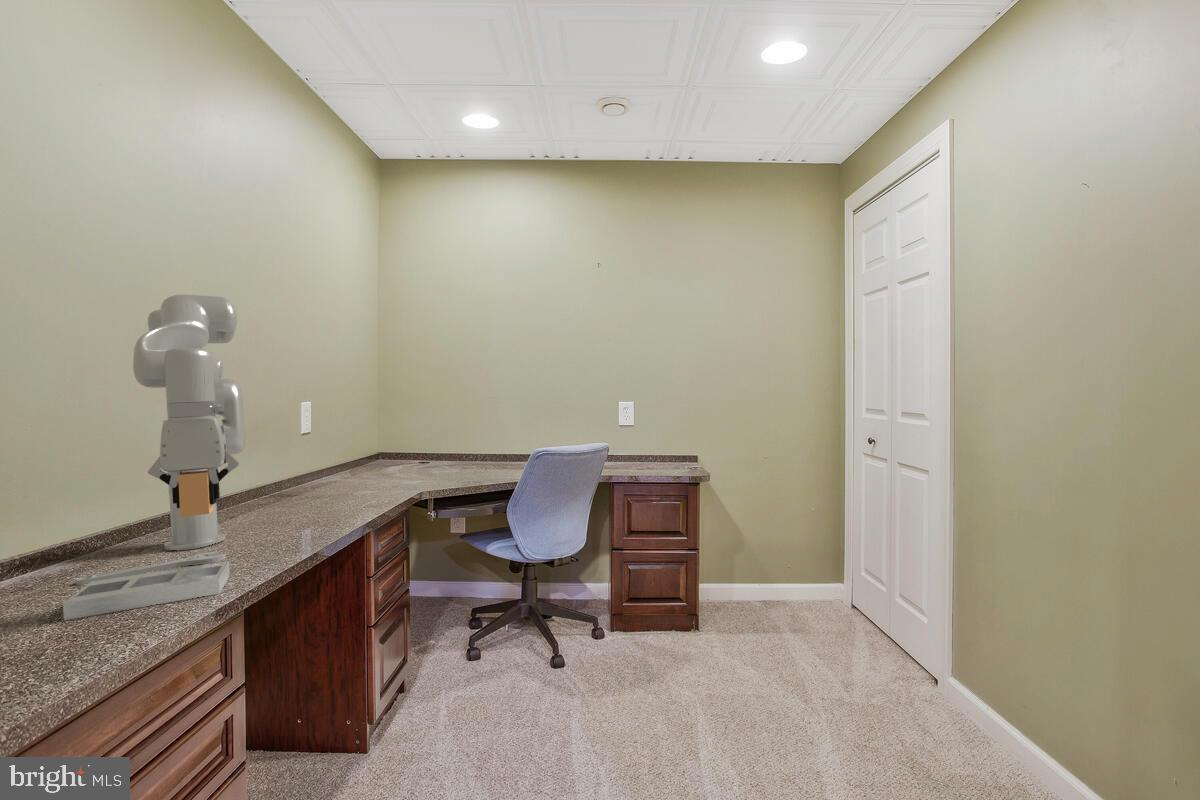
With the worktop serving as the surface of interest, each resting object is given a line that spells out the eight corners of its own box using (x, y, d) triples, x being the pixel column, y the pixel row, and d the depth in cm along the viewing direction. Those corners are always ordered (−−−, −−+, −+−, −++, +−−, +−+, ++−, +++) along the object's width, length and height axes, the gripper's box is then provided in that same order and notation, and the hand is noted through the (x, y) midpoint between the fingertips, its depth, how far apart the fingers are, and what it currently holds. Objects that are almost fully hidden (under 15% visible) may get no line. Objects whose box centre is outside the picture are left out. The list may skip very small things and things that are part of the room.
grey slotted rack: (74, 589, 109) (73, 580, 109) (83, 580, 115) (82, 571, 115) (224, 563, 123) (223, 555, 122) (225, 556, 128) (225, 548, 128)
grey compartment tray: (91, 597, 103) (90, 581, 103) (229, 575, 113) (229, 560, 113) (63, 620, 92) (62, 603, 92) (219, 593, 102) (218, 578, 102)
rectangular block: (186, 512, 106) (183, 472, 106) (213, 509, 108) (211, 469, 108) (180, 517, 102) (178, 475, 102) (209, 513, 104) (207, 472, 104)
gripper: (246, 409, 112) (250, 496, 112) (142, 413, 104) (148, 507, 105) (240, 409, 105) (245, 502, 106) (129, 414, 98) (135, 515, 98)
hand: (197, 504), depth 105 cm, fingers closed on rectangular block, 4 cm apart
